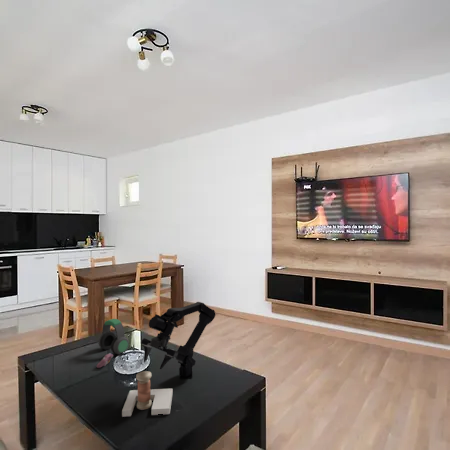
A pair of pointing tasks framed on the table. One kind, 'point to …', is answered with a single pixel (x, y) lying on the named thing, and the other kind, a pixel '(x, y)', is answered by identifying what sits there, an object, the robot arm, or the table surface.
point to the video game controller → (105, 360)
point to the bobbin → (144, 390)
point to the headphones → (113, 337)
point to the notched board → (158, 395)
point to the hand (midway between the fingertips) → (152, 365)
